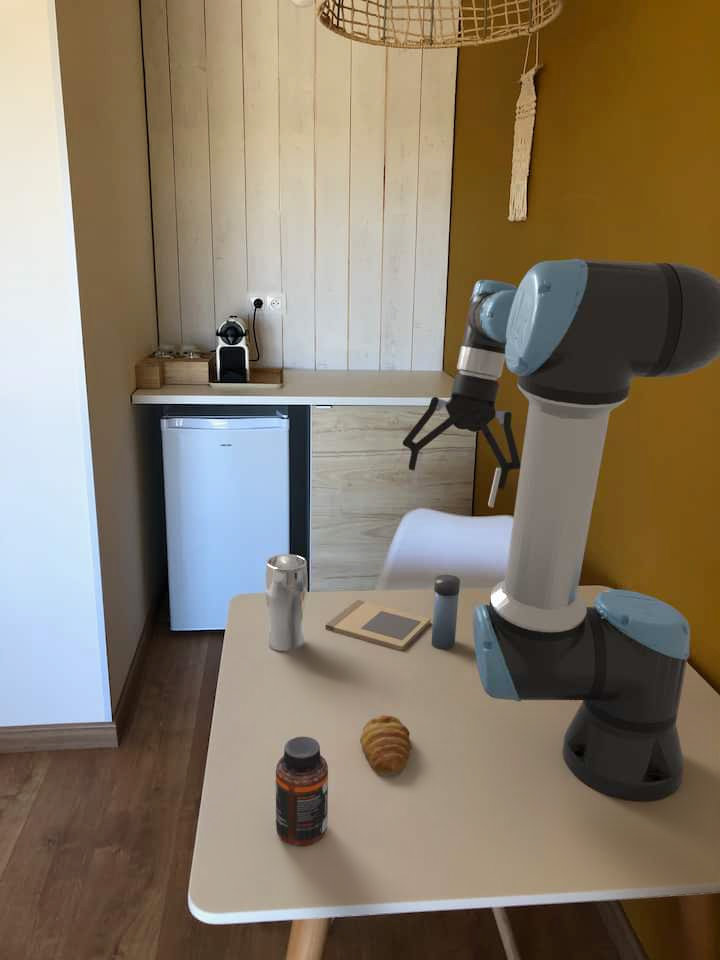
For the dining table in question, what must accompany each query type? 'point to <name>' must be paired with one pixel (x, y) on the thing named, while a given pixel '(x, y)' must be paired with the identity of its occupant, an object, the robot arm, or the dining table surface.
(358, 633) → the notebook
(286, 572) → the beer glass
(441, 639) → the blue bottle
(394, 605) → the dining table surface
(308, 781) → the supplement bottle
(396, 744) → the pastry
